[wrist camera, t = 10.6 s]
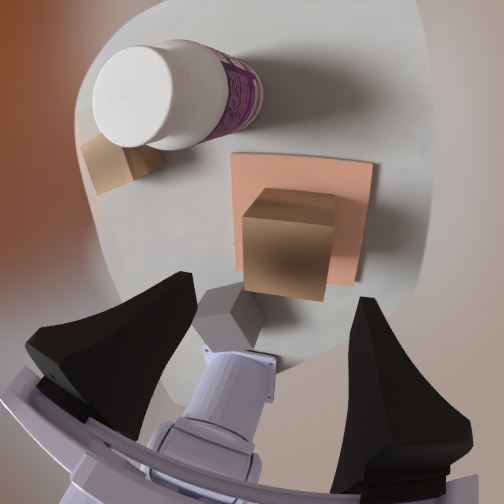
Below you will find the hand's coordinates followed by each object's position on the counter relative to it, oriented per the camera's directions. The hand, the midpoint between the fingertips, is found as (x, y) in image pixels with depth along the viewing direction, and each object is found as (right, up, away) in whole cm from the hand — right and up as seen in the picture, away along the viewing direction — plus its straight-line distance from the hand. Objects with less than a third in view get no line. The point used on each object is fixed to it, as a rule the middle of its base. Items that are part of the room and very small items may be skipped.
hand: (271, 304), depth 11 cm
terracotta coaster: (+2, +4, +7) cm, 9 cm away
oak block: (-10, +10, +8) cm, 16 cm away
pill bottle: (-3, +12, +5) cm, 13 cm away
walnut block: (+2, +4, +7) cm, 8 cm away
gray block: (-2, -2, +13) cm, 13 cm away
